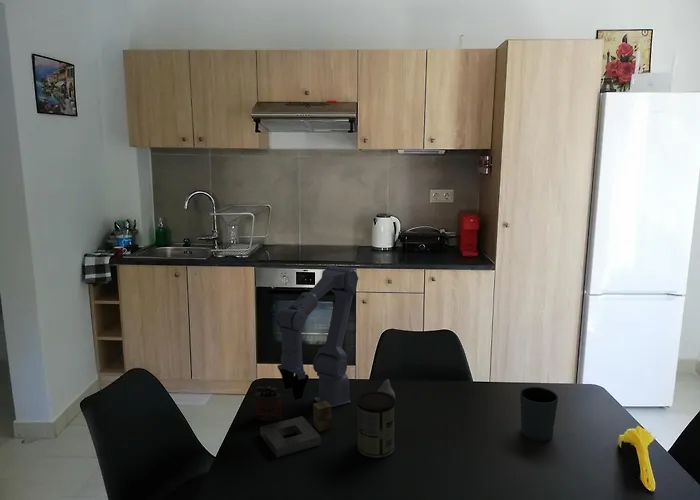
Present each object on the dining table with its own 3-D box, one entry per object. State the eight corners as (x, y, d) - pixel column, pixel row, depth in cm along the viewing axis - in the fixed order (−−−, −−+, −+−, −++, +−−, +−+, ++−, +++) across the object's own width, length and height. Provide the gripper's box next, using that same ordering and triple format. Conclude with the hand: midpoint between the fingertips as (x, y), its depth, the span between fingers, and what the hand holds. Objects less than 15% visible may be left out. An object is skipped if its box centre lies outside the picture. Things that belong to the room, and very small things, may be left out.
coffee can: (363, 435, 150) (363, 388, 147) (398, 441, 146) (399, 394, 144) (351, 454, 140) (351, 405, 138) (389, 461, 137) (389, 411, 134)
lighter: (282, 415, 161) (281, 385, 159) (280, 421, 158) (279, 390, 156) (257, 414, 162) (255, 384, 160) (254, 419, 159) (252, 389, 157)
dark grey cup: (556, 428, 152) (559, 390, 150) (554, 446, 143) (557, 405, 141) (520, 421, 156) (522, 384, 154) (515, 438, 147) (517, 398, 145)
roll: (380, 373, 163) (397, 376, 160) (380, 409, 165) (397, 412, 163) (373, 380, 157) (391, 383, 155) (373, 418, 159) (391, 421, 157)
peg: (325, 422, 157) (325, 400, 156) (331, 428, 153) (331, 406, 152) (313, 425, 155) (313, 403, 154) (319, 431, 152) (318, 409, 150)
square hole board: (302, 423, 156) (302, 416, 156) (321, 444, 145) (320, 436, 144) (260, 435, 150) (260, 426, 149) (276, 457, 139) (276, 449, 138)
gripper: (270, 343, 155) (272, 386, 158) (287, 360, 143) (289, 406, 145) (292, 339, 159) (294, 381, 161) (311, 355, 146) (312, 401, 148)
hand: (293, 393), depth 153 cm, fingers open, 7 cm apart
